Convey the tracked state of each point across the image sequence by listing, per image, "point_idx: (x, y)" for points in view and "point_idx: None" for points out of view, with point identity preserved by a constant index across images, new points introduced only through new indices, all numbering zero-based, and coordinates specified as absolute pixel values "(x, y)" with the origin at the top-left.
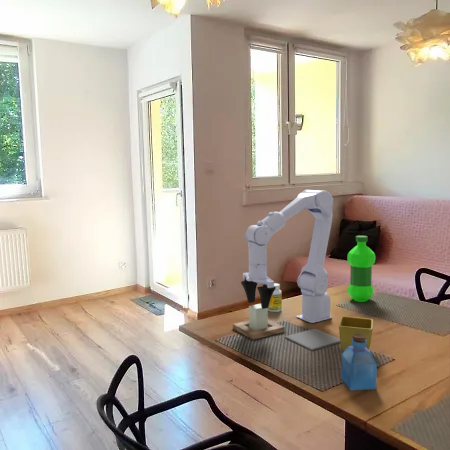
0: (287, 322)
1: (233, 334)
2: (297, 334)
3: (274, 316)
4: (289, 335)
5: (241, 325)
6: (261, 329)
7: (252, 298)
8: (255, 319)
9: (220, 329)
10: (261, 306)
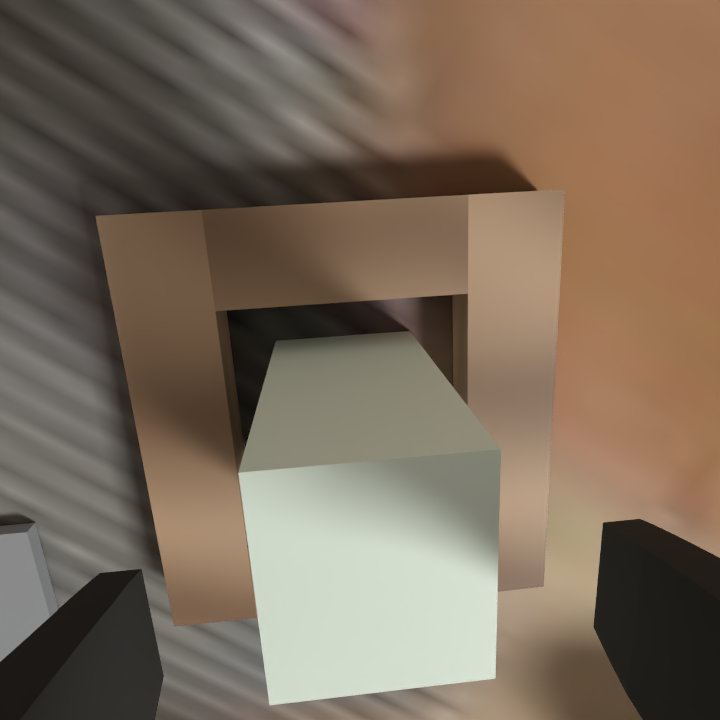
0: (386, 710)
1: (381, 99)
2: None
3: (576, 691)
4: (31, 573)
5: (456, 256)
6: (217, 393)
7: (645, 655)
8: (278, 392)
9: (609, 43)
10: (118, 589)
